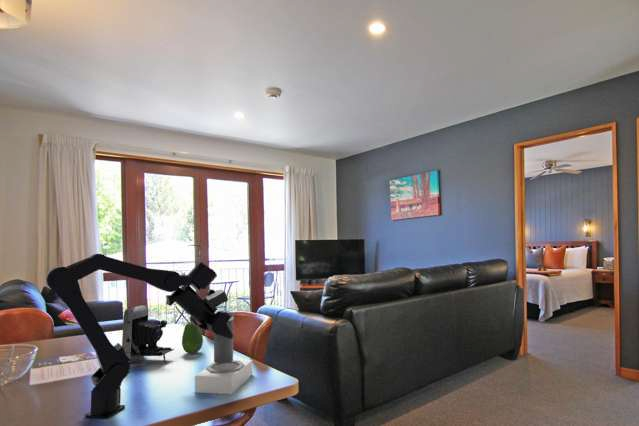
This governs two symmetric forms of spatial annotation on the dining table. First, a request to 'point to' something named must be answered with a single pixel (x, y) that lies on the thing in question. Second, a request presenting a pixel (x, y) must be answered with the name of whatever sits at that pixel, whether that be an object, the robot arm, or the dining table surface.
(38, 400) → the dining table surface
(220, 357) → the lens
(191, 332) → the avocado
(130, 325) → the vintage camera
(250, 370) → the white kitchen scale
